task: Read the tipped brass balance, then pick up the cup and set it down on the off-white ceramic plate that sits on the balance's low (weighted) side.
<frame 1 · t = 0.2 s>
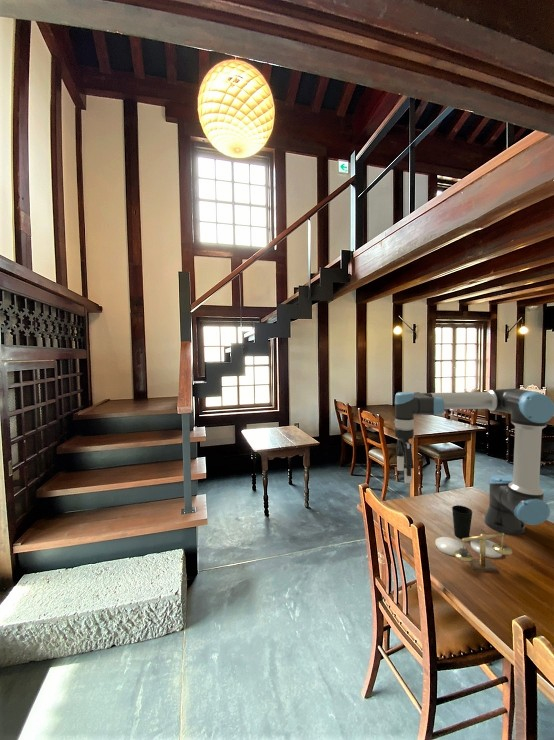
hand: (404, 476, 137), 28 cm above the table, fingers open, 13 cm apart
balance: (482, 566, 119), on the table
low side dish: (450, 547, 131), on the table
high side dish: (486, 549, 129), on the table
cup: (461, 536, 139), on the table
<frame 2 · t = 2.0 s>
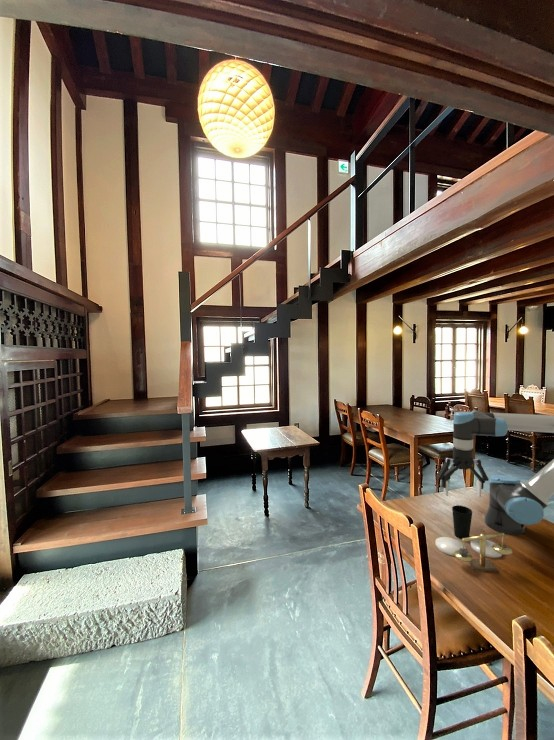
hand: (462, 495, 138), 18 cm above the table, fingers open, 13 cm apart
nothing on the table moved.
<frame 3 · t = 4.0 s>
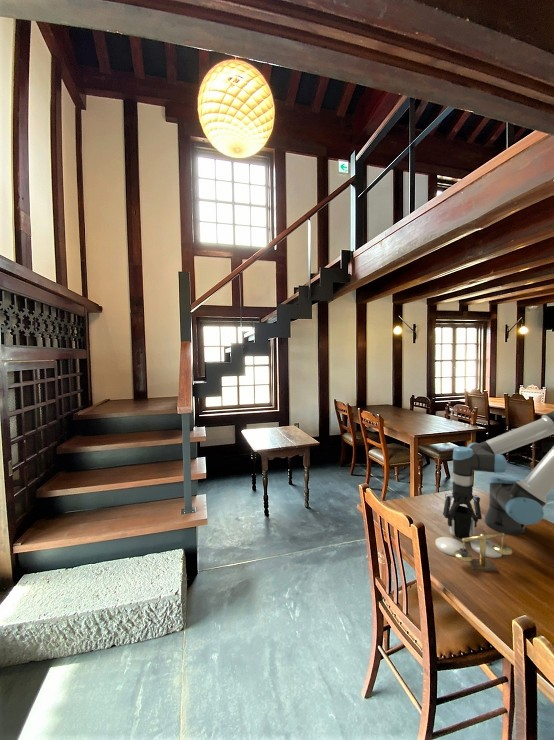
hand: (461, 533, 139), 1 cm above the table, fingers closed on cup, 8 cm apart
cup: (461, 536, 139), on the table, touching gripper
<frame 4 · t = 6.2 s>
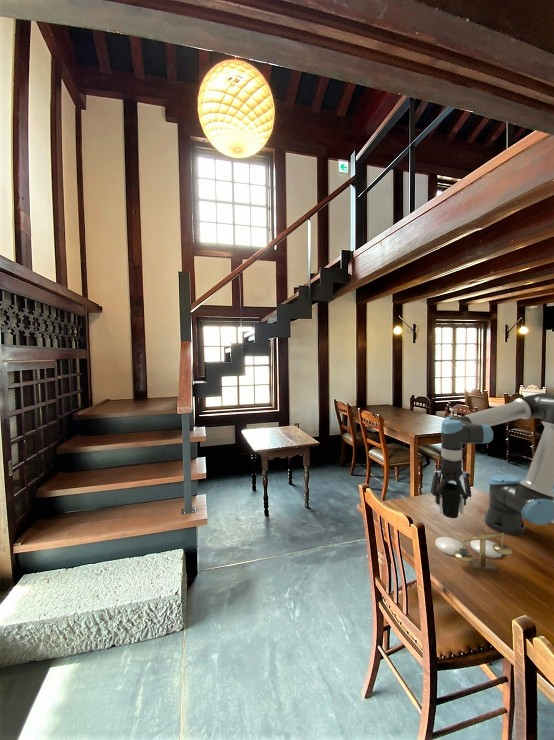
hand: (450, 512, 130), 15 cm above the table, fingers closed on cup, 8 cm apart
cup: (450, 515, 130), point 14 cm above the table, touching gripper
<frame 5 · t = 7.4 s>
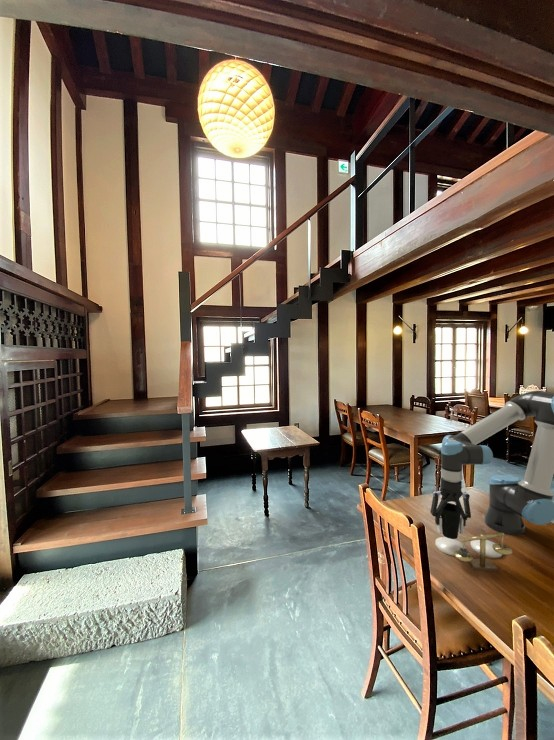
hand: (450, 532, 130), 6 cm above the table, fingers closed on cup, 8 cm apart
cup: (449, 535, 130), point 5 cm above the table, touching gripper
when the fingers open (4 cm above the table, at t = 8.3 s): cup drops 1 cm, resting on low side dish.
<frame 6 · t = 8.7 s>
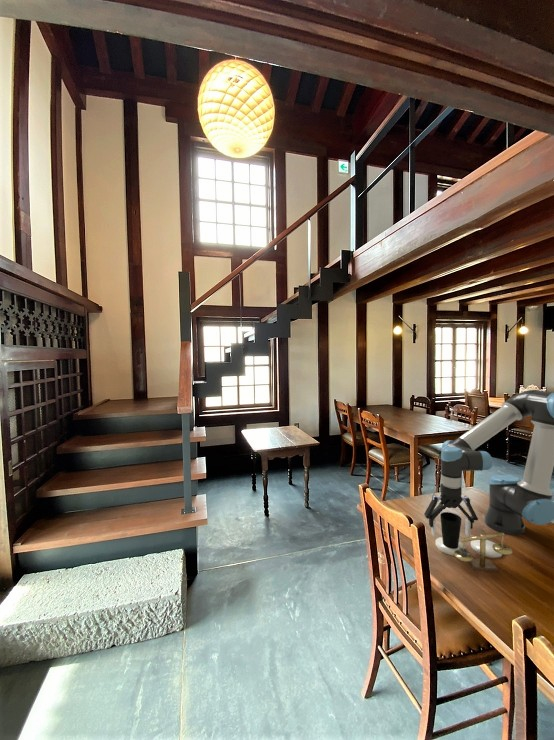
hand: (450, 535, 130), 5 cm above the table, fingers open, 13 cm apart
cup: (450, 545, 131), point 1 cm above the table, touching low side dish
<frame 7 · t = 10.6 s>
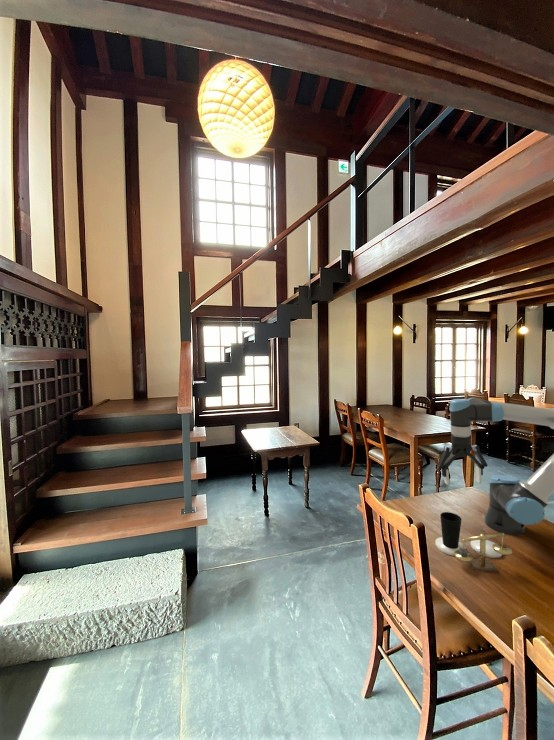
hand: (462, 483, 137), 24 cm above the table, fingers open, 13 cm apart
nothing on the table moved.
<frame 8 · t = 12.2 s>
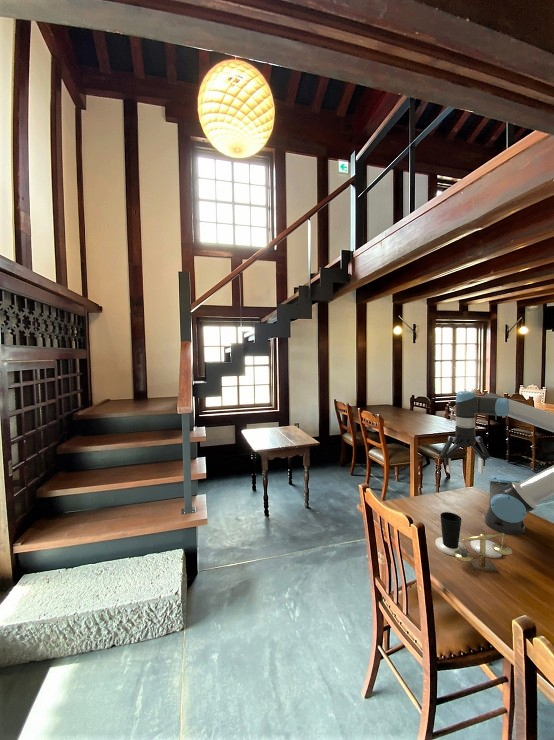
hand: (464, 472, 142), 27 cm above the table, fingers open, 13 cm apart
nothing on the table moved.
at the end: cup 0.1 cm from the low side dish (horizontally); cup touching low side dish; cup tilted 0° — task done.
